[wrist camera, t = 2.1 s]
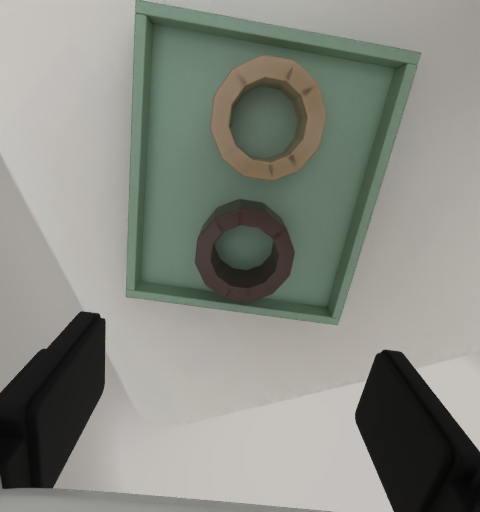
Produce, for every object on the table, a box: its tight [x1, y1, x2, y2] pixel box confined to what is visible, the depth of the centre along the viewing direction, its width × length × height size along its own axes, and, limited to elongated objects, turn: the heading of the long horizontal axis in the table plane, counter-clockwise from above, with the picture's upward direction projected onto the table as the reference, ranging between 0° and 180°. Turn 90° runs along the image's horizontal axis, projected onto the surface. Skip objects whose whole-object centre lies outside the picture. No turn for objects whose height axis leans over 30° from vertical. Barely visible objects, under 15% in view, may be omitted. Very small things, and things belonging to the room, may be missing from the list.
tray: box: [126, 0, 421, 325], centre depth 21 cm, size 17×15×2 cm
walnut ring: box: [195, 199, 295, 302], centre depth 21 cm, size 6×6×3 cm
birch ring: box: [210, 55, 327, 181], centre depth 18 cm, size 6×6×3 cm
